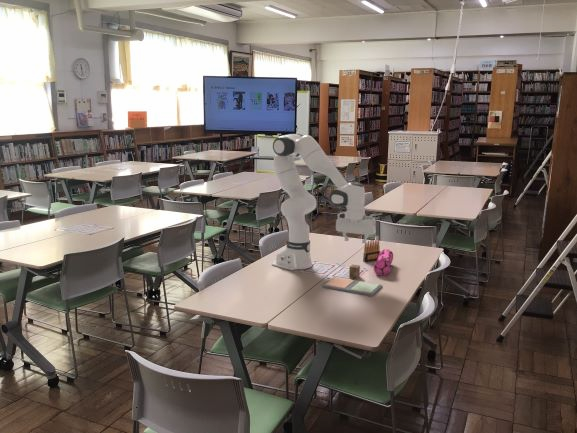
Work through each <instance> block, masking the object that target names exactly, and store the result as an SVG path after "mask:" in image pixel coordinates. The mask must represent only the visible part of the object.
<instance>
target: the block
mask: <svg viewBox="0 0 577 433" xmlns="http://www.w3.org/2000/svg"><path fill="white" fill-rule="evenodd" d="M348 268H349V270H348V271H349V273H348V274H349V275H348V276H349V277H348V279H353V280H357V279H359V278H360V277H361V276H360V274H361V270H360V269H361V265H359V264H351V265H350V266H349V267H348Z"/></svg>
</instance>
